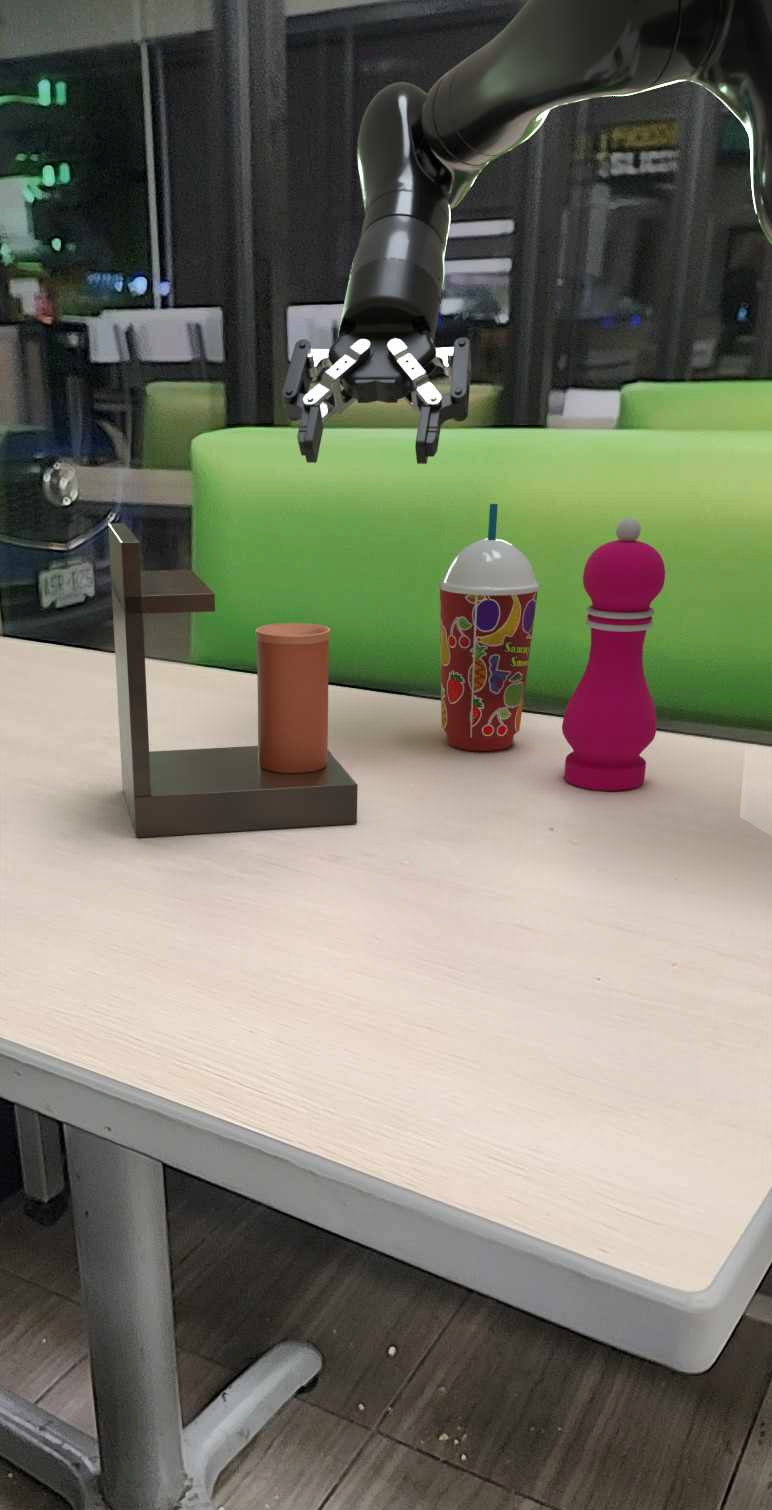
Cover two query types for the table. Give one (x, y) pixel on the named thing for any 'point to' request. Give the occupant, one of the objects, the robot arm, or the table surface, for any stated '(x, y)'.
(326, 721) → the tumbler
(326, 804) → the stand
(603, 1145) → the table surface
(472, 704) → the smoothie
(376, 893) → the table surface
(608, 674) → the pepper mill
